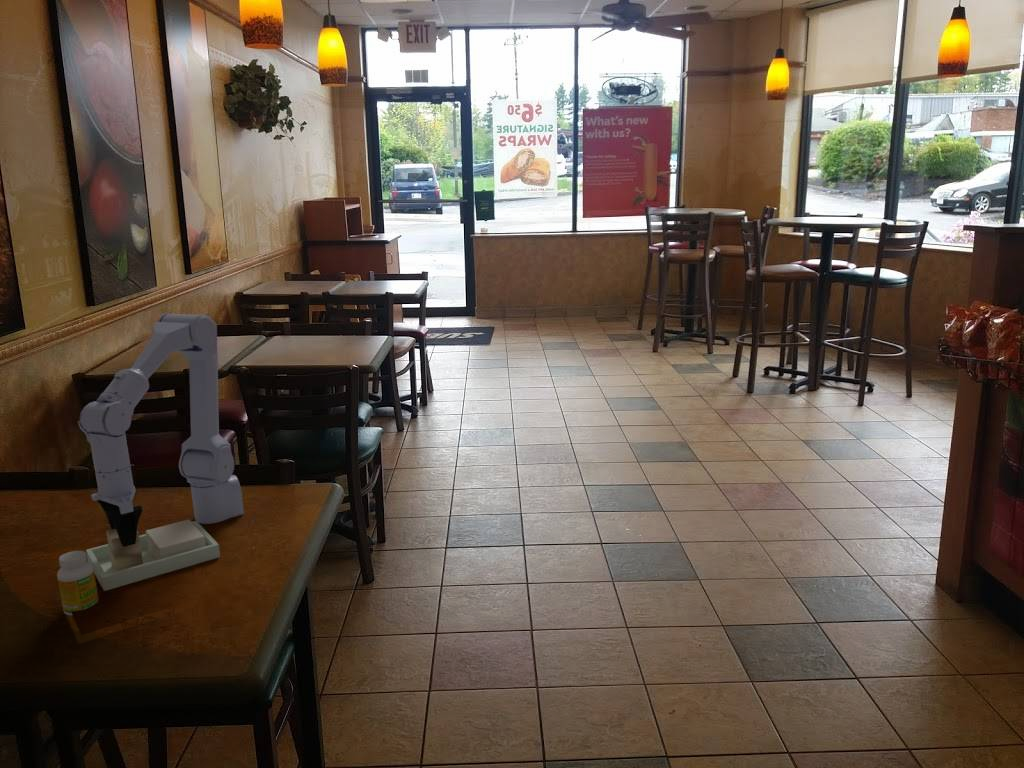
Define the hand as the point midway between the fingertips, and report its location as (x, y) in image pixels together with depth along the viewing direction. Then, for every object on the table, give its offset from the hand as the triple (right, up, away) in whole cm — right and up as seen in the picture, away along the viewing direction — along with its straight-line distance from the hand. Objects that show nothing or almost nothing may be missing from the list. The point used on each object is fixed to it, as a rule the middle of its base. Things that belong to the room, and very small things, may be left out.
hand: (124, 537), depth 148 cm
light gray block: (+7, -4, +6) cm, 10 cm away
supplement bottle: (-2, -10, -11) cm, 15 cm away
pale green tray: (+4, -6, +4) cm, 8 cm away
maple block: (0, -6, +1) cm, 6 cm away
